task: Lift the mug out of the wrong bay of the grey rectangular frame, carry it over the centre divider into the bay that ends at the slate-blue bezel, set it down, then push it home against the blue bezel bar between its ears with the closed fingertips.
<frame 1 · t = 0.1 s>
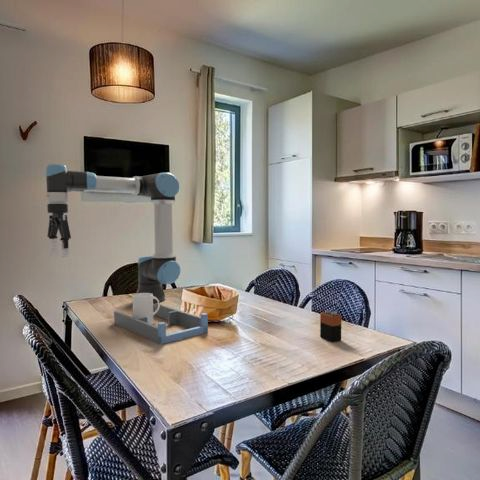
hand: (59, 255, 160), 28 cm above the table, fingers open, 13 cm apart
blue bezel: (184, 337, 142), on the table
mug: (147, 323, 161), on the table
grey rectangular frame: (158, 327, 155), on the table
battery: (330, 339, 140), on the table
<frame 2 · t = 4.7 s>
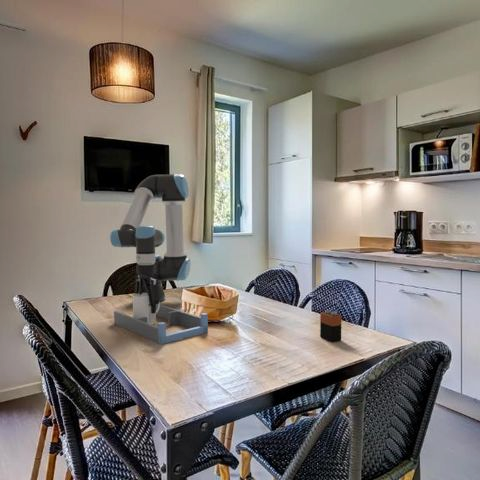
hand: (146, 318, 161), 2 cm above the table, fingers closed on mug, 8 cm apart
mug: (147, 323, 161), on the table, touching gripper
everything else where it was.
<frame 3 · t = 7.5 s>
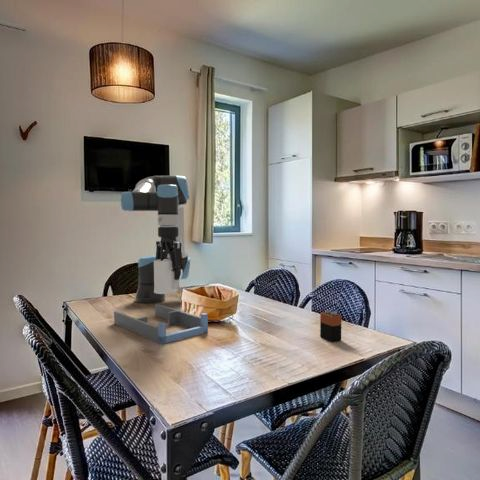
hand: (169, 286, 148), 17 cm above the table, fingers closed on mug, 8 cm apart
mug: (169, 291, 148), point 15 cm above the table, touching gripper
everything else where it was.
when the fingers open (3 cm above the table, at t = 10.4 s): mug drops 1 cm, on the table.
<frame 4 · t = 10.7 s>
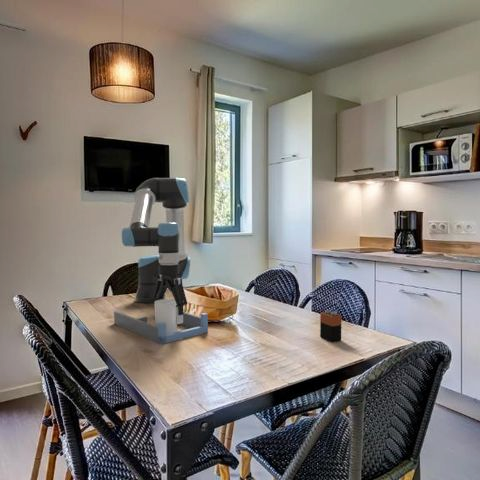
hand: (169, 320, 149), 5 cm above the table, fingers open, 12 cm apart
mug: (170, 332, 149), on the table
everything else where it was.
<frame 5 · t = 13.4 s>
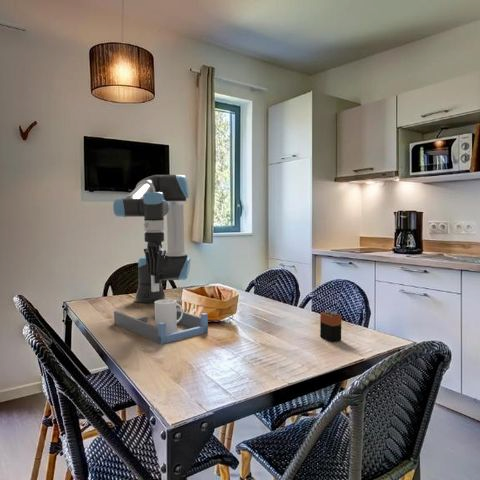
hand: (155, 291, 155), 14 cm above the table, fingers closed
nothing on the table moved.
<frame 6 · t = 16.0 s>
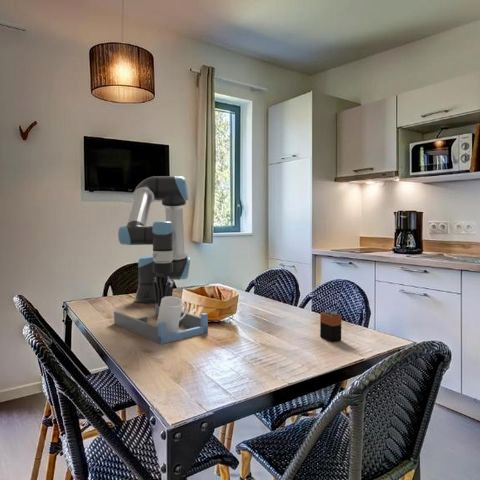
hand: (163, 322, 151), 3 cm above the table, fingers closed
mug: (170, 329, 148), point 1 cm above the table, touching gripper, hand
everything else where it was.
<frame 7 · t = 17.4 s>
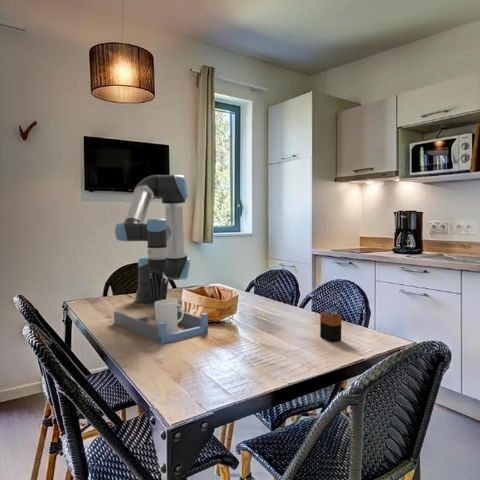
hand: (158, 317, 155), 4 cm above the table, fingers closed
mug: (170, 333, 148), on the table
everything else where it was.
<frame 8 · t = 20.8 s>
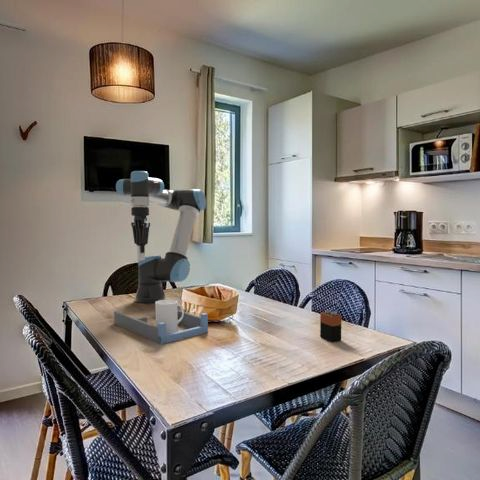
hand: (141, 260, 174), 24 cm above the table, fingers closed
nothing on the table moved.
at the end: mug inside the target area (3.0 cm from its centre), on the table; mug tilted 0°; the gripper is holding nothing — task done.
